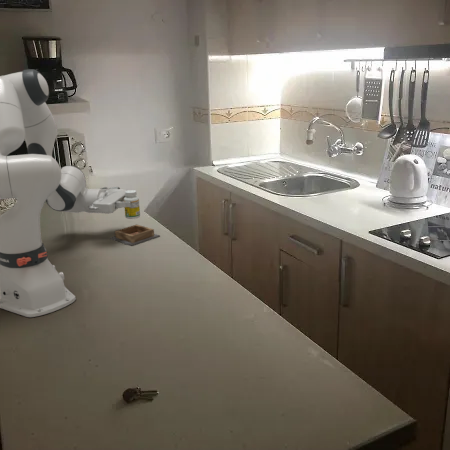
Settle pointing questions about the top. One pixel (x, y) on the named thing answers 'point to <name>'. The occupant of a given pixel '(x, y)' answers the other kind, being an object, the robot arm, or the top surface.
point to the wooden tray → (134, 235)
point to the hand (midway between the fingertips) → (133, 201)
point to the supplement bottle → (132, 205)
